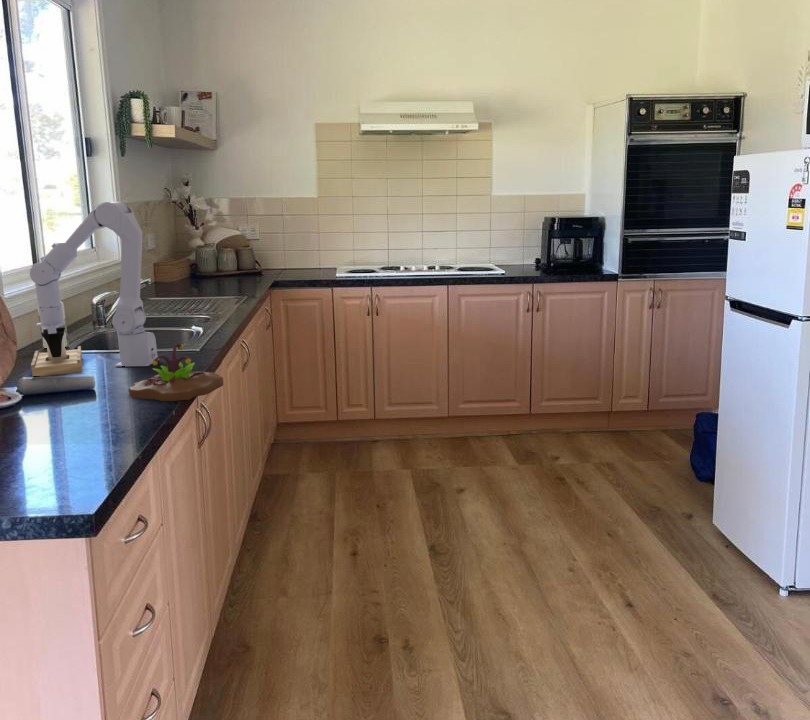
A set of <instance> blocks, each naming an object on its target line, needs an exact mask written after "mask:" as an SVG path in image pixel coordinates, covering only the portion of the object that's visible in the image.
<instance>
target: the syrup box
mask: <svg viewBox="0 0 810 720" xmlns="http://www.w3.org/2000/svg"><path fill="white" fill-rule="evenodd" d="M64 303H65V302H63V301H61V306H62V312H63V320H64V321H65V324H64V325H62V326H65V330H64V331H65V332H64V335H63V338H62V339H64V341H65V347H66V348H69V347H70V345H69V337H68V336H69V334H68V329H67V328H68V327H67V319H66V314H65V313H66V311H65V305H64ZM36 307H37V315H38V321H39V322H38V323H41V320H40V313H39V307H38V302H37V304H36ZM60 327H61V326H60ZM39 329H40V334H41V335H40V336H41V337H40V338H41V342H42V348H43V347H44V348H47V345H46V340H45V339H44V338H43V336H42V332H43V329H46V328H43V327H39ZM44 348H43V349H44Z"/></svg>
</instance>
